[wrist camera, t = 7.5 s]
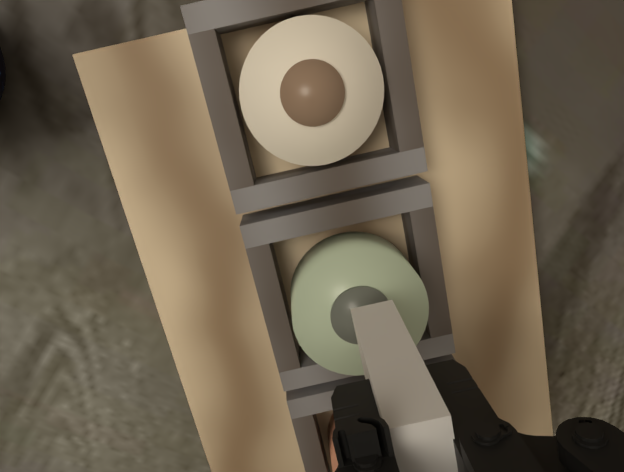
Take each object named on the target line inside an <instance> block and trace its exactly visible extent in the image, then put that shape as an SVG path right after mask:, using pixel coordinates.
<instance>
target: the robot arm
mask: <svg viewBox="0 0 624 472" xmlns="http://www.w3.org/2000/svg"><path fill="white" fill-rule="evenodd" d="M350 310H351V315H352V319H353V324H354V329H355V333H356V338H357V343H358V347H359V352H360V357H361V361H362V366H363V371H364V375H365V379H366V380H361V381H357V382H352V383H348V384H343V385H338V386H336V388H335V390H334V392H333V394H332V396H331V402H332V408H333V415H334V422H335V429H334V431H333V435H332V441H333V445H334V449H335V453H336V457H337V461H338V467H337V469H336V470H335V472H624V432H622V431H621V430H619V429H618V428H616V427H615V426H613V425H611V424H609V423H607V422H605V421H603V420H599V419H595V418H591V417H577V418H573V419H568V420H566V421H564V422H563V423H561V424H560V425H559V426H558V429H557V431H556V436H534V435H526V434H522V433H518V432H517V430H516V429H515V428H514V427H513V426H512V425H511V424H510V423H509V422H506V421H504V420H502V419H500V418H498V416H497V415H496V413H495V412H494V410H493V409H492V407H491V405H490V404H489V402H488V401H487V399H486V398H485V396H484V395H483V393H482V392H481V390H480V388H478V385H477V384H476V382H475V381H474V379H473V378H472V376H471V375H470V373H469V371H468V370H467V368H466V367H465V366H463V365H462V364H460V363H458V362H457V361H455V360H453V359H451V360H447V361H442V362H438V363H433V364H428V365H425V363H424V361H423V359H422V357H421V355H420V353H419V351H418V349H417V347H416V346H415V344H414V342H413V340H412V338H411V336H410V334H409V332H408V330H407V328H406V326H405V324H404V322H403V320H402V318H401V316H400V314H399V312H398V310H397V308H396V306H395V304H394V302H393V300H388V301H383V302H379V303H374V304H370V305H365V306H361V307H356V308H352V309H350Z"/></svg>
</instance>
